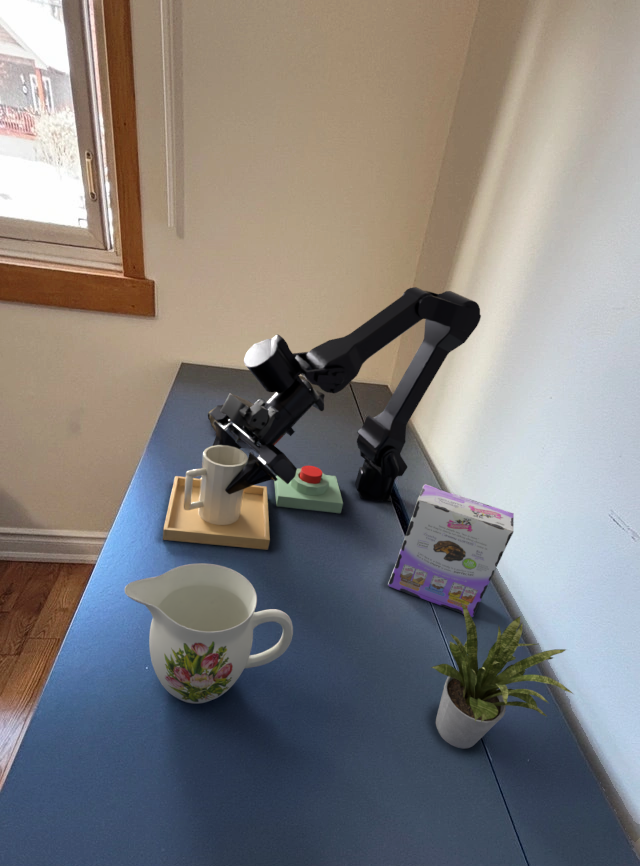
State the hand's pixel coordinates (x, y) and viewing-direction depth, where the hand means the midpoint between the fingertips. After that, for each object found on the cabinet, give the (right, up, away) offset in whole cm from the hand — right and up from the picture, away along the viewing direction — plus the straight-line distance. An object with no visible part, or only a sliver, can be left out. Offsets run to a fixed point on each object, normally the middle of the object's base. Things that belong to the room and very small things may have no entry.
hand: (215, 480), depth 85 cm
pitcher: (+3, -25, -23) cm, 34 cm away
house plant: (+33, -32, -23) cm, 51 cm away
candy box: (+34, -18, -1) cm, 39 cm away
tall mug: (-1, -5, +4) cm, 7 cm away
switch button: (+15, +1, +14) cm, 21 cm away
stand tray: (0, -6, +5) cm, 7 cm away
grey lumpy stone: (-4, +14, +33) cm, 36 cm away
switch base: (+14, -2, +16) cm, 22 cm away
